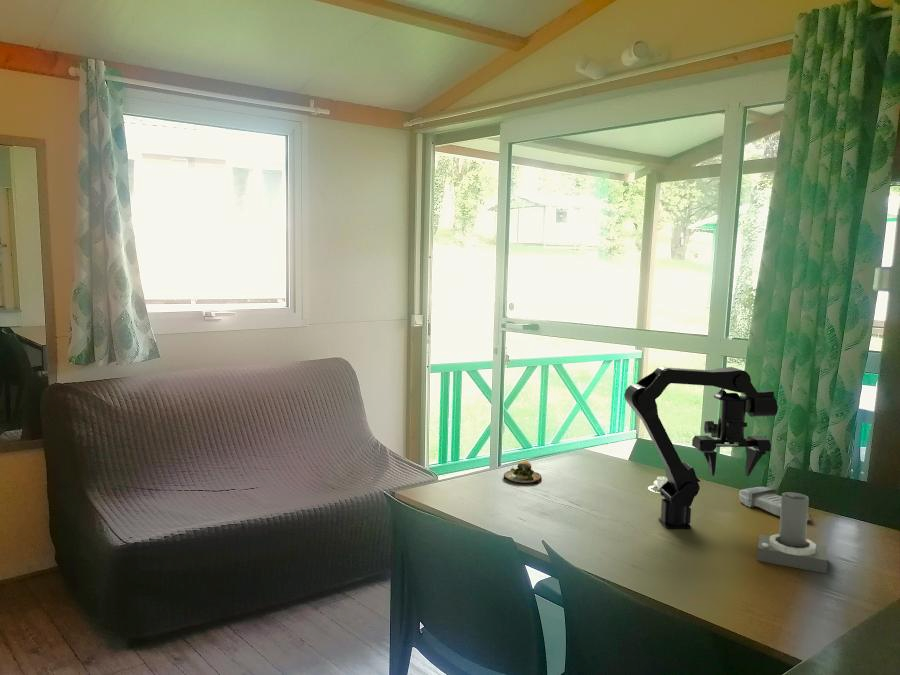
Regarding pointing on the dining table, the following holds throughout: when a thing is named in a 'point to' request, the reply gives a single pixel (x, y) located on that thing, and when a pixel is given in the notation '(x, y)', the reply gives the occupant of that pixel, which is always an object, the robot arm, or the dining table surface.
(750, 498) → the handheld device
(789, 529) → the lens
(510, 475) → the brown round piece
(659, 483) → the teacup and saucer
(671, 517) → the robot arm
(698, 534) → the dining table surface
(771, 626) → the dining table surface
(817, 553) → the grey rectangular block
